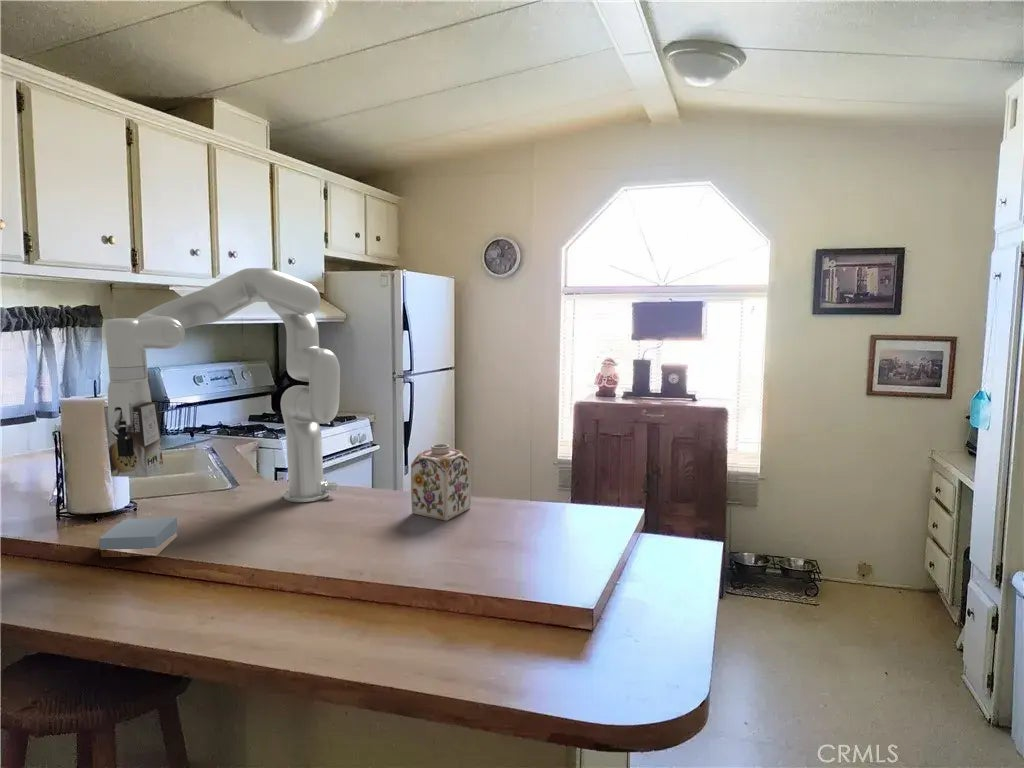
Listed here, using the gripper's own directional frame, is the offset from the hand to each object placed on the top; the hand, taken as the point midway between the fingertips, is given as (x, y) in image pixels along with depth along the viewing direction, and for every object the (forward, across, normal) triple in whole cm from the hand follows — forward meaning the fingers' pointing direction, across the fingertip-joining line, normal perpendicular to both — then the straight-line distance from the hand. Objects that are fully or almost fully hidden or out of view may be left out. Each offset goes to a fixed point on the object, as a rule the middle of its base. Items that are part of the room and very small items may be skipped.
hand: (135, 451), depth 156 cm
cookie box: (+5, 0, 0) cm, 5 cm away
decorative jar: (+23, -25, +66) cm, 74 cm away
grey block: (+23, 0, 0) cm, 23 cm away
